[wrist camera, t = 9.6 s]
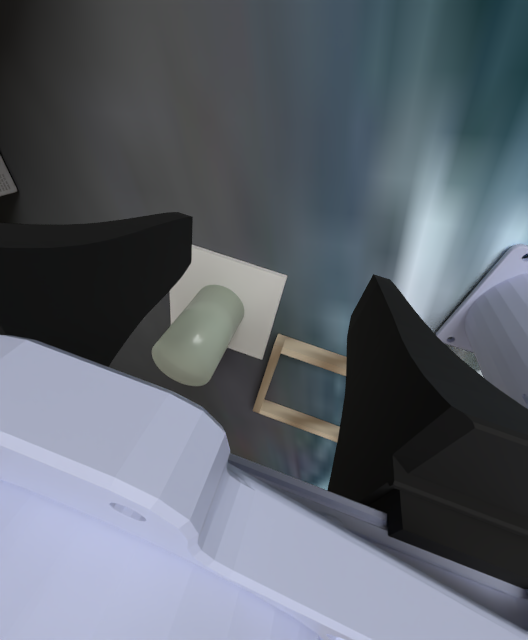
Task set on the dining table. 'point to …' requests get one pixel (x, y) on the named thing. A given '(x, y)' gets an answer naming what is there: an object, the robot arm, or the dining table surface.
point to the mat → (246, 282)
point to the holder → (310, 356)
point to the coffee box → (6, 180)
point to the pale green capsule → (199, 336)
